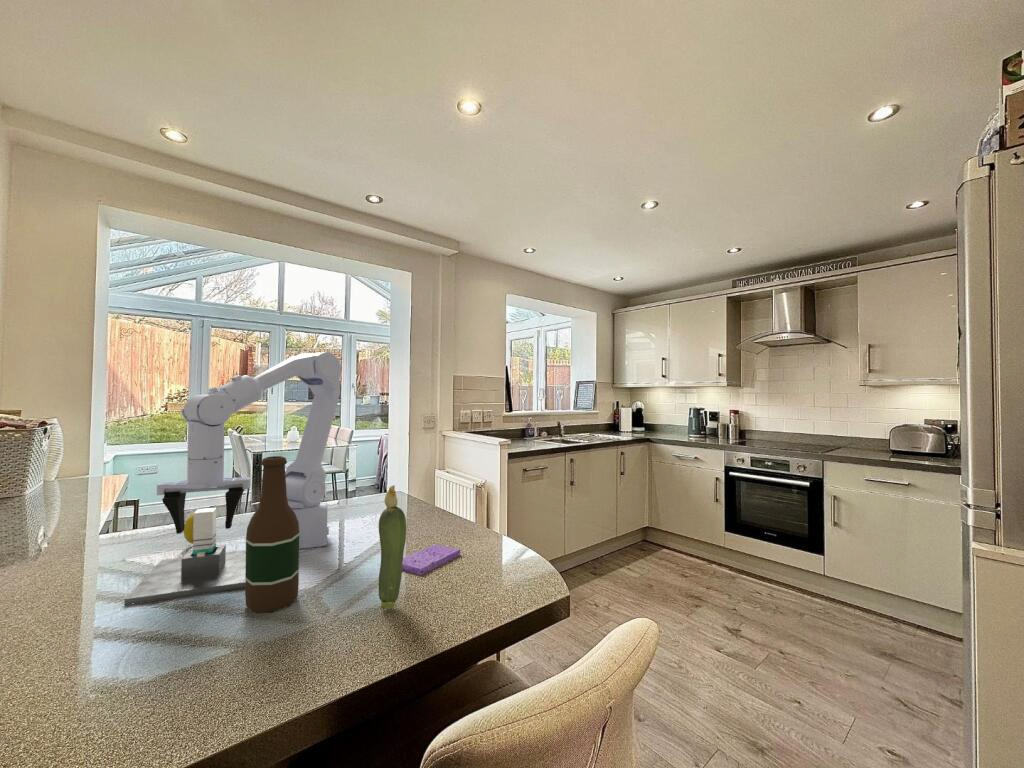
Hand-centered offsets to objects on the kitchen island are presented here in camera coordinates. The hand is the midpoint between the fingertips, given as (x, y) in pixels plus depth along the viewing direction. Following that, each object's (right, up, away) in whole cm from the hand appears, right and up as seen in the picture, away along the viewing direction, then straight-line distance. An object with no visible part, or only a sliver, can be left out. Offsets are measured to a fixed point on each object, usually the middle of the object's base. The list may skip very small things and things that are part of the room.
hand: (204, 529), depth 84 cm
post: (0, -4, 0) cm, 4 cm away
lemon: (-12, -9, +15) cm, 22 cm away
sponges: (+41, -10, +8) cm, 43 cm away
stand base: (0, -9, 0) cm, 9 cm away
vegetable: (+39, -9, -12) cm, 41 cm away
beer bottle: (+19, -9, -11) cm, 23 cm away
